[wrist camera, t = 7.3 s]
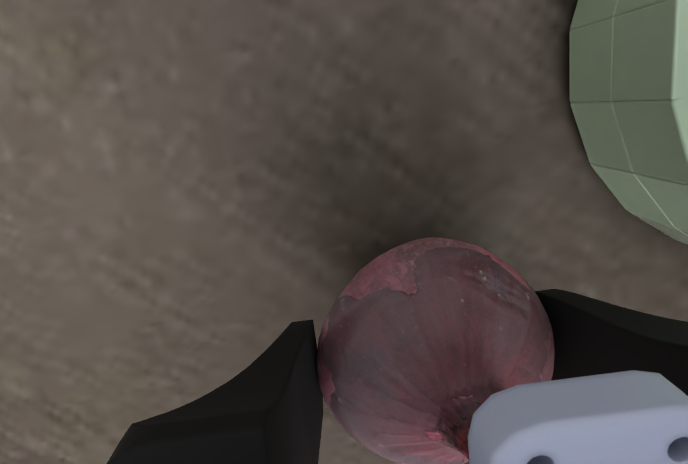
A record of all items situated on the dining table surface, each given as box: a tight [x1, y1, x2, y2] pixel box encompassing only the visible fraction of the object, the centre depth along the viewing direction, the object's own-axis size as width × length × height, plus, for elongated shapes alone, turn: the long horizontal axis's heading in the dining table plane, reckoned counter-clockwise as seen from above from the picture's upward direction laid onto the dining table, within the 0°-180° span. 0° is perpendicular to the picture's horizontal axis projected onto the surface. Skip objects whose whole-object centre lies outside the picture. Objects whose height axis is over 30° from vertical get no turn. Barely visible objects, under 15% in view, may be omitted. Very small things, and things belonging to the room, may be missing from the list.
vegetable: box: [316, 237, 555, 464], centre depth 12 cm, size 6×6×10 cm
